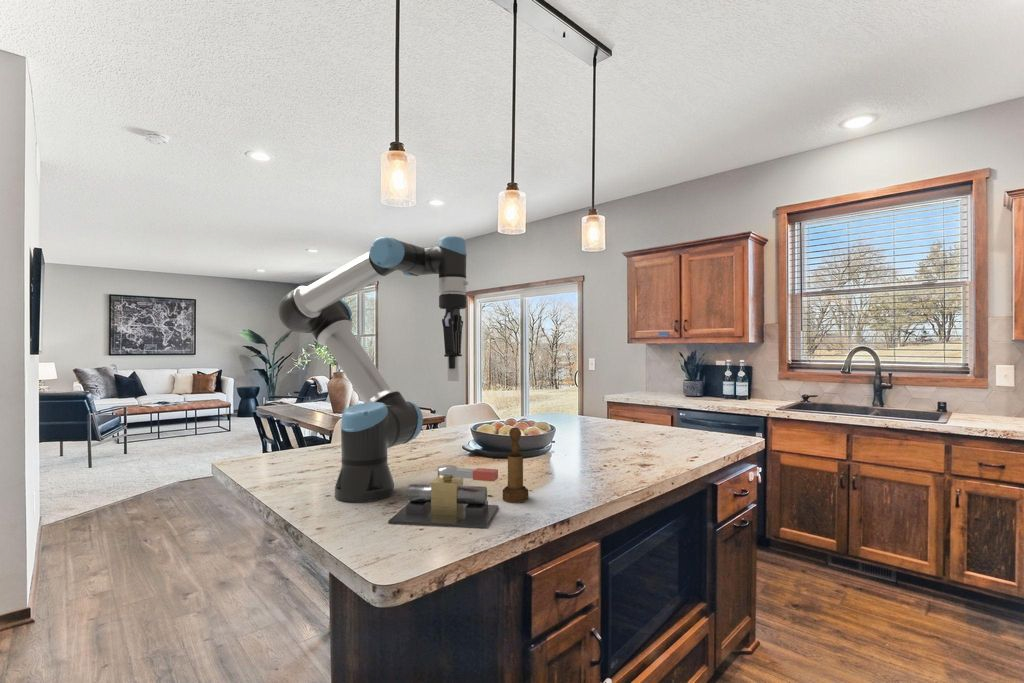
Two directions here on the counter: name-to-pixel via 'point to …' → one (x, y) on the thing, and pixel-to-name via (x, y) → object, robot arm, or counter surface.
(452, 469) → the lever
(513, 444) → the brown pepper mill
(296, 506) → the counter surface
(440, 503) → the valve
